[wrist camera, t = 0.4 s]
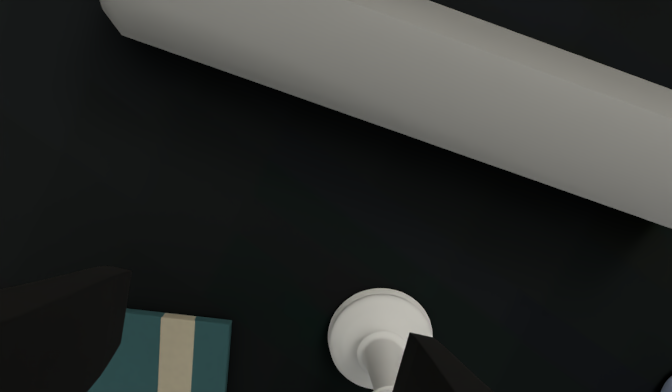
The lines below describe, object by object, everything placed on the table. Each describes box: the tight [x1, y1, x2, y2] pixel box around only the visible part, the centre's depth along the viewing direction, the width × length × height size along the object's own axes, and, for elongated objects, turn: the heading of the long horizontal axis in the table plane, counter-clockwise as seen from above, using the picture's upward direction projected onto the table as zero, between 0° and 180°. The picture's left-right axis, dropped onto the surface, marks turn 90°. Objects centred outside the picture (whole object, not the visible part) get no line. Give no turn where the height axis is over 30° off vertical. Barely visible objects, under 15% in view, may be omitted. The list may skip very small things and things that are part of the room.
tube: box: [100, 0, 672, 229], centre depth 19 cm, size 5×5×25 cm
